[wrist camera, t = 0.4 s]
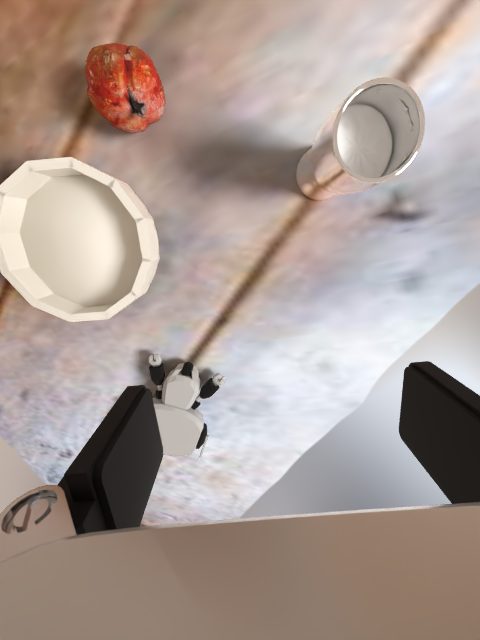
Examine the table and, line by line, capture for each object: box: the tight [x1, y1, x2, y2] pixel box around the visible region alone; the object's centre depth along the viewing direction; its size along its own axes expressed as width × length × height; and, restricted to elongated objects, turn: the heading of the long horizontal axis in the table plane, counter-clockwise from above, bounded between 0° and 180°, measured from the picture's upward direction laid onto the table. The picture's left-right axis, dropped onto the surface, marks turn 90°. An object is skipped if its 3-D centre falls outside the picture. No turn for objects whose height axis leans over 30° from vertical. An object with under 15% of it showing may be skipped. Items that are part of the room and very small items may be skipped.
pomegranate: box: [85, 43, 166, 133], centre depth 29 cm, size 7×7×10 cm
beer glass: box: [296, 78, 425, 200], centre depth 27 cm, size 7×7×15 cm
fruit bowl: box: [0, 157, 160, 322], centre depth 35 cm, size 18×18×4 cm
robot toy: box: [149, 354, 225, 462], centre depth 42 cm, size 12×4×15 cm
